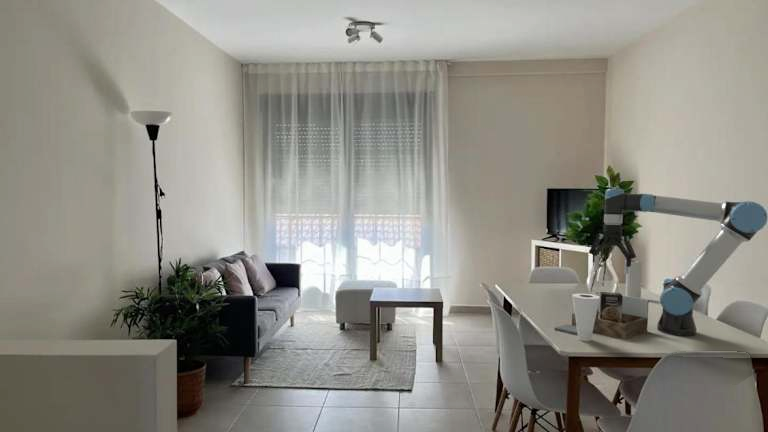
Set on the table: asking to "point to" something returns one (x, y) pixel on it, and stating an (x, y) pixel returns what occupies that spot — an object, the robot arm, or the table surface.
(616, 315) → the coffee box
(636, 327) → the wooden tray
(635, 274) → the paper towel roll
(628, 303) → the lid
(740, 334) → the table surface
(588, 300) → the cup
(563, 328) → the slate mat
